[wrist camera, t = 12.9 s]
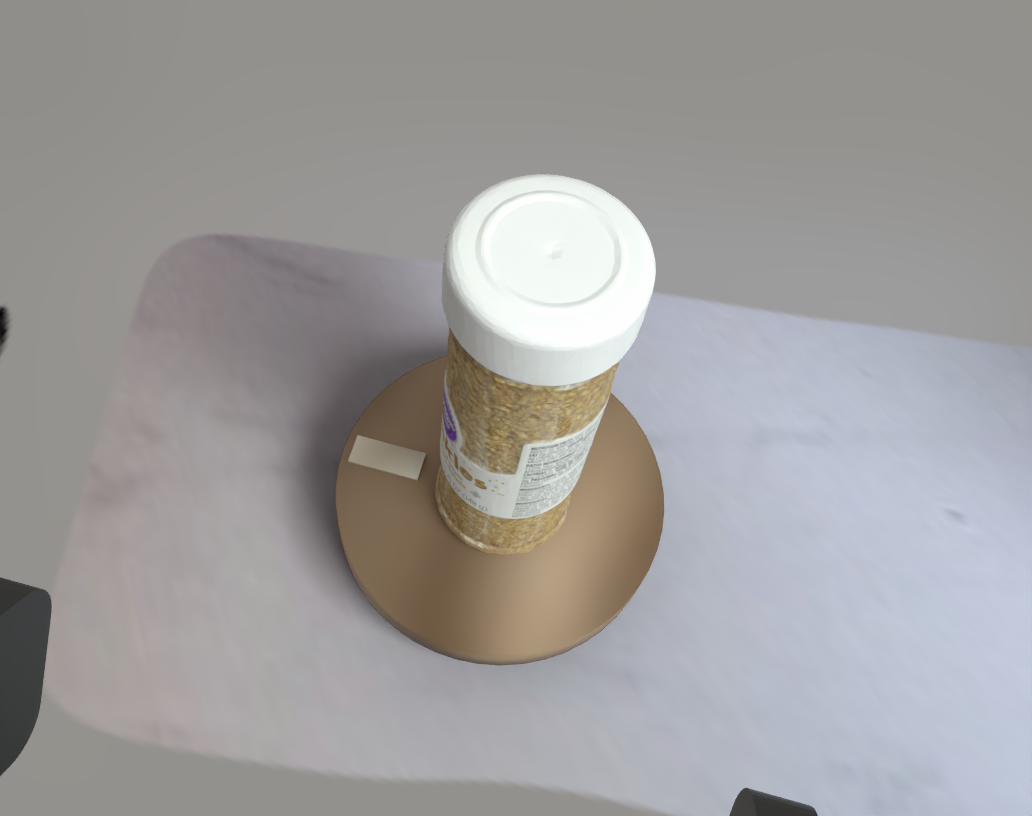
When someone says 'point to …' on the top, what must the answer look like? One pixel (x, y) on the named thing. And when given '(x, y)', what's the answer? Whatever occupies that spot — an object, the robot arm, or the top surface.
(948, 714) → the top surface
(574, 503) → the disc
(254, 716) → the top surface
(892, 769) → the top surface
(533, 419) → the sprinkles bottle
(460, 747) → the top surface
